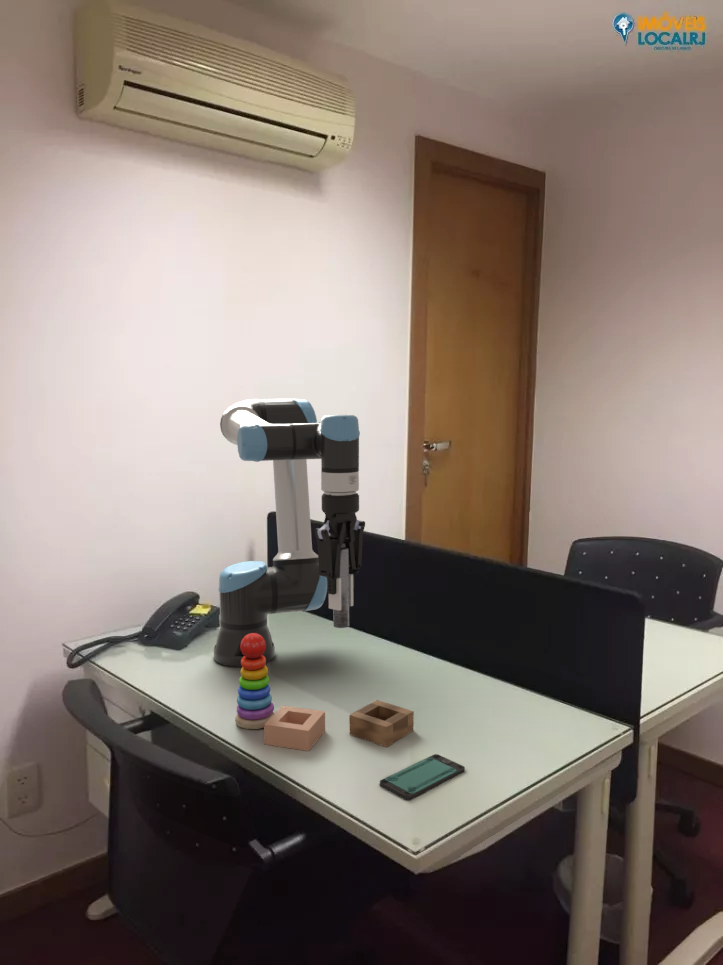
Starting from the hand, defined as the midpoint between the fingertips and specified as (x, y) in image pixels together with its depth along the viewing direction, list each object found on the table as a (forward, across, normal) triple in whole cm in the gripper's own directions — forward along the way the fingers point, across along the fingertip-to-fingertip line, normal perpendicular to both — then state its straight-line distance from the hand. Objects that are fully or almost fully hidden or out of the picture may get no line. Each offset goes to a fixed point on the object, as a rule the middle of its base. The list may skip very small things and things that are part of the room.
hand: (341, 606), depth 160 cm
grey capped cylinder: (+4, 0, 0) cm, 4 cm away
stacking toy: (+23, -13, +12) cm, 29 cm away
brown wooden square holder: (+23, -1, -11) cm, 26 cm away
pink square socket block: (+23, -13, +1) cm, 27 cm away
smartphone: (+24, -11, -27) cm, 38 cm away
